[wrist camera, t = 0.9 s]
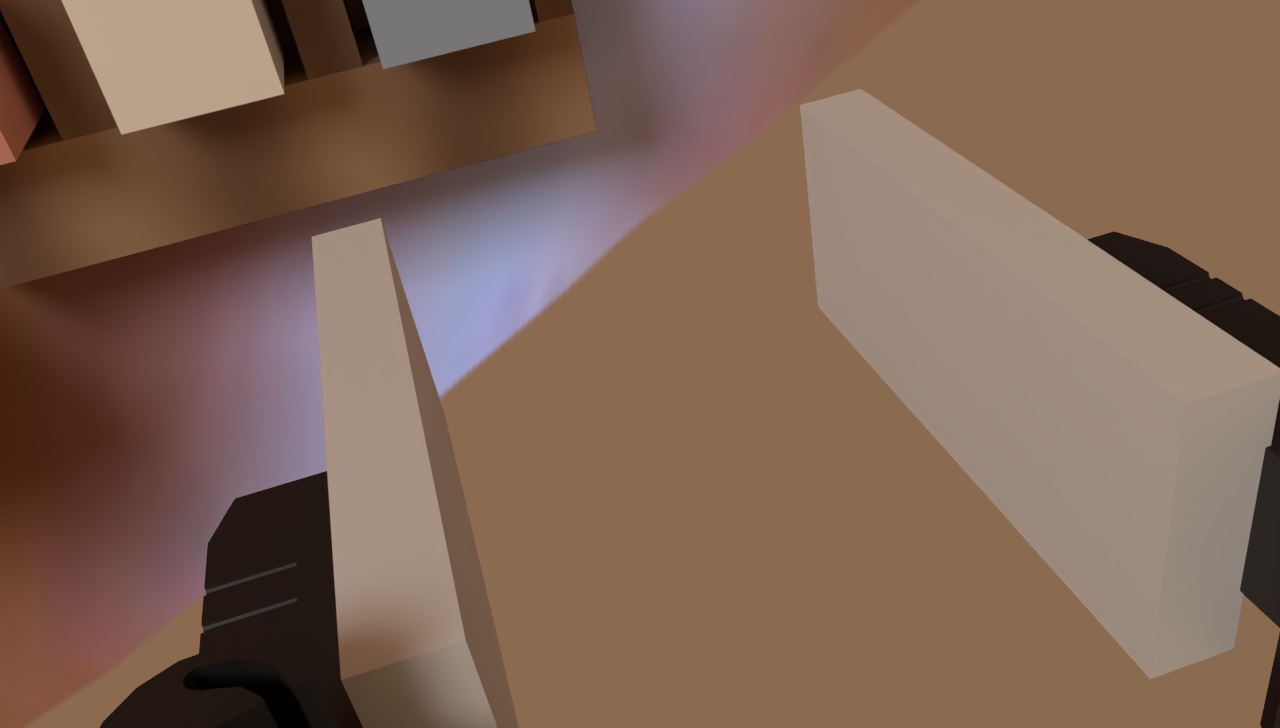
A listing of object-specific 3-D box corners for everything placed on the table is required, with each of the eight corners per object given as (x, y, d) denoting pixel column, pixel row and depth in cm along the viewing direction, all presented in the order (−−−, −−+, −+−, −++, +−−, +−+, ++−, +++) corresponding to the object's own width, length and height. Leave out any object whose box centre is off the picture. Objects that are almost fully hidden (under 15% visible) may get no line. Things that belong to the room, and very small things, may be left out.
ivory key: (138, 87, 30) (121, 134, 27) (73, -64, 28) (47, -32, 25) (283, 51, 31) (284, 93, 28) (231, -99, 29) (225, -73, 26)
